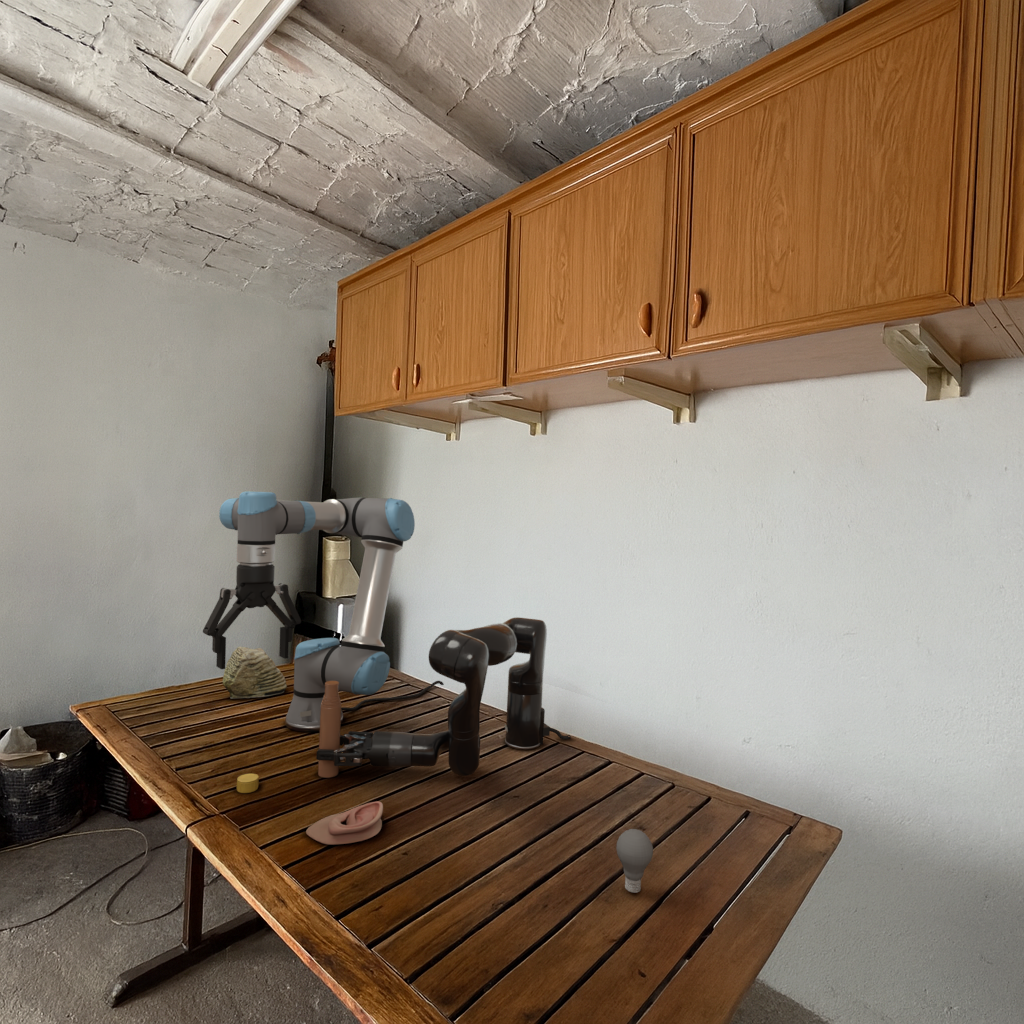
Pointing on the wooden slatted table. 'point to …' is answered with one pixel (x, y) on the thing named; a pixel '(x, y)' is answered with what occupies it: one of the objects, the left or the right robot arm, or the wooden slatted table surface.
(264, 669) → the fossil
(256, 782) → the cap
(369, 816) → the anatomical model
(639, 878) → the light bulb
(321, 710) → the bottle
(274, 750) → the wooden slatted table surface
